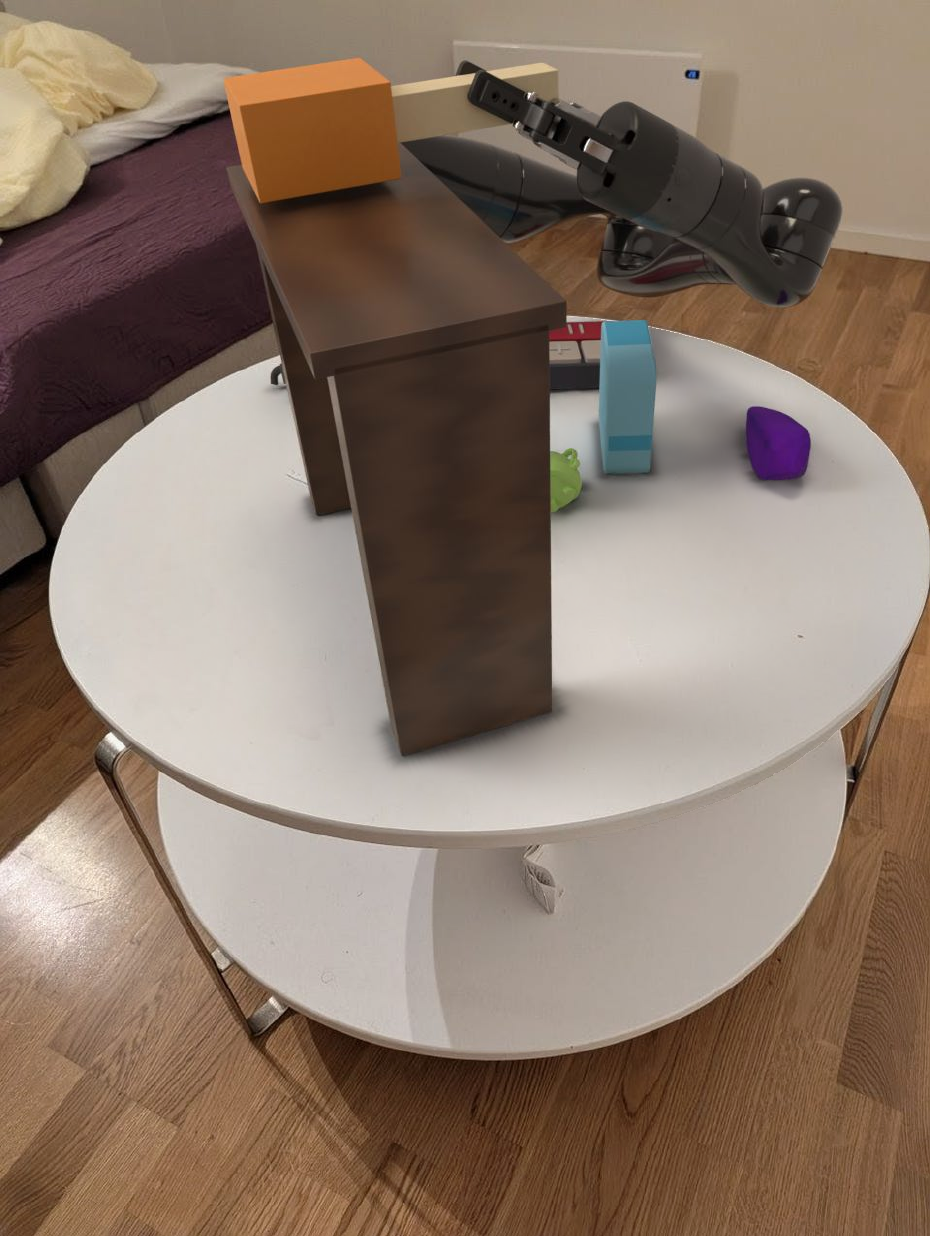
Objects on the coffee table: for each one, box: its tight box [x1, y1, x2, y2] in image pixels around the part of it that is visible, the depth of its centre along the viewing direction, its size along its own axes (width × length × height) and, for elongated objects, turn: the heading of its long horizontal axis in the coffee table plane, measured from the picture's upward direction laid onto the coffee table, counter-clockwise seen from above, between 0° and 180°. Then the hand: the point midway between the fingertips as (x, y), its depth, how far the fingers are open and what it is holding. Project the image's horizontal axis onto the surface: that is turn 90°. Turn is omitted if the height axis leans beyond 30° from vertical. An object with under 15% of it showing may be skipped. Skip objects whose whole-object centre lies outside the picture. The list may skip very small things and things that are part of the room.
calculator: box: [549, 320, 607, 390], centre depth 110 cm, size 11×4×15 cm
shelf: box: [226, 143, 568, 756], centre depth 71 cm, size 14×36×32 cm, turn 18°
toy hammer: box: [222, 57, 559, 203], centre depth 66 cm, size 23×9×6 cm, turn 108°
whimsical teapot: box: [550, 447, 583, 513], centre depth 89 cm, size 6×5×6 cm
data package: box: [598, 319, 658, 475], centre depth 93 cm, size 12×4×12 cm, turn 177°
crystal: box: [745, 405, 812, 481], centre depth 93 cm, size 5×5×15 cm
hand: (465, 80), depth 66 cm, fingers closed on toy hammer, 3 cm apart
